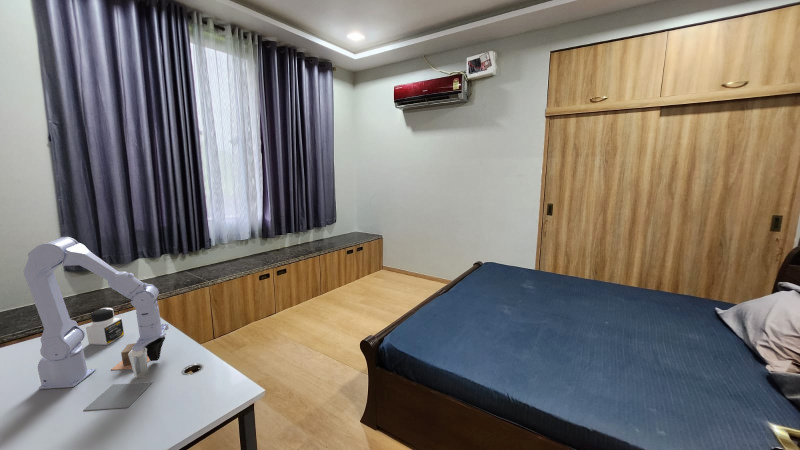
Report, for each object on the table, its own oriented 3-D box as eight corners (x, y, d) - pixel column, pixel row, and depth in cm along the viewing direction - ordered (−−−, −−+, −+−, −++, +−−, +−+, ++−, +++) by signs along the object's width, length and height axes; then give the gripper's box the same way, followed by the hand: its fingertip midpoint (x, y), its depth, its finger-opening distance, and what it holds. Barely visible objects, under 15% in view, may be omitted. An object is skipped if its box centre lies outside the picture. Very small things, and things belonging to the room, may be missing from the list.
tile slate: (83, 410, 83) (83, 410, 83) (112, 385, 93) (112, 384, 93) (127, 407, 84) (127, 407, 84) (152, 382, 94) (152, 382, 94)
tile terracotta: (110, 370, 99) (110, 369, 99) (131, 353, 108) (131, 353, 108) (141, 368, 100) (141, 367, 100) (159, 352, 109) (159, 351, 109)
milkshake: (142, 381, 95) (137, 351, 93) (128, 378, 96) (123, 349, 94) (156, 371, 99) (152, 343, 97) (142, 369, 100) (138, 341, 98)
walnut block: (123, 366, 101) (121, 352, 100) (129, 357, 106) (127, 344, 105) (142, 362, 103) (140, 349, 102) (147, 354, 107) (145, 341, 107)
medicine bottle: (107, 345, 113) (102, 314, 111) (88, 344, 113) (82, 314, 111) (124, 334, 120) (120, 306, 118) (106, 334, 120) (101, 305, 118)
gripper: (147, 333, 94) (153, 373, 97) (175, 311, 108) (180, 346, 111) (122, 334, 93) (129, 374, 96) (153, 312, 108) (159, 347, 110)
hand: (155, 359), depth 103 cm, fingers closed
